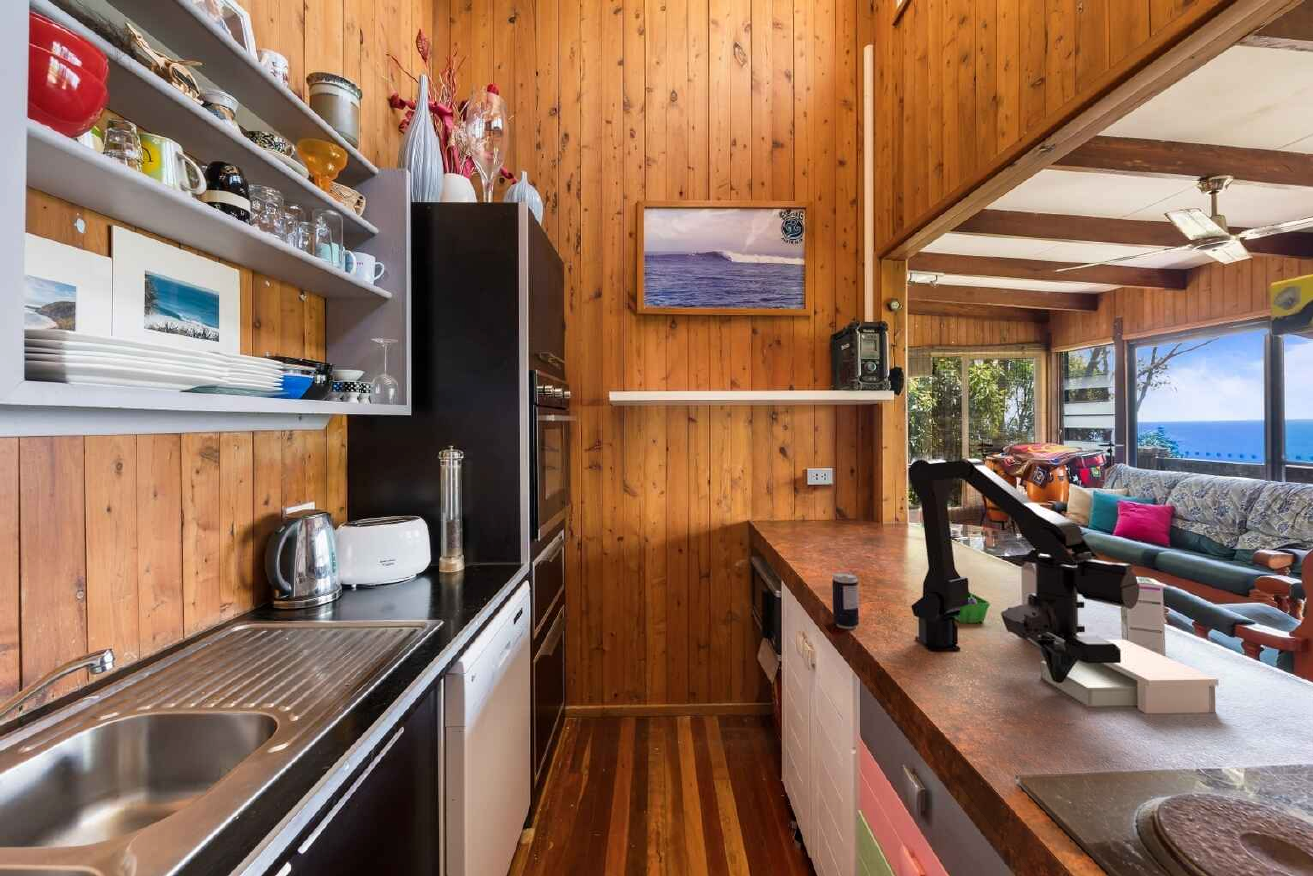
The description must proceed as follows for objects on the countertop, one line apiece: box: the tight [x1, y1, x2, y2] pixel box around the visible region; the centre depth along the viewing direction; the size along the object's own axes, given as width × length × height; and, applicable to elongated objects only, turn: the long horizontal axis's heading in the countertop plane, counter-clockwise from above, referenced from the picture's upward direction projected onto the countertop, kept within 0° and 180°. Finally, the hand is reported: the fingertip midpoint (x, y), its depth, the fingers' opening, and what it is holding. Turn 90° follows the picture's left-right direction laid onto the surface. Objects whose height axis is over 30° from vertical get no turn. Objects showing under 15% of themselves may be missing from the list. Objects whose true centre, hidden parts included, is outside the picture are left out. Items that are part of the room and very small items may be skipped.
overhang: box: [1103, 638, 1219, 714], centre depth 88 cm, size 11×16×6 cm
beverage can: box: [831, 571, 860, 630], centre depth 120 cm, size 6×6×12 cm
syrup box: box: [1120, 575, 1167, 657], centre depth 104 cm, size 6×6×14 cm
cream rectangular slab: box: [1040, 660, 1138, 707], centre depth 88 cm, size 16×10×3 cm, turn 90°
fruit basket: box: [954, 591, 991, 624], centre depth 125 cm, size 11×9×11 cm
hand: (1057, 682), depth 88 cm, fingers closed, pressing on cream rectangular slab
